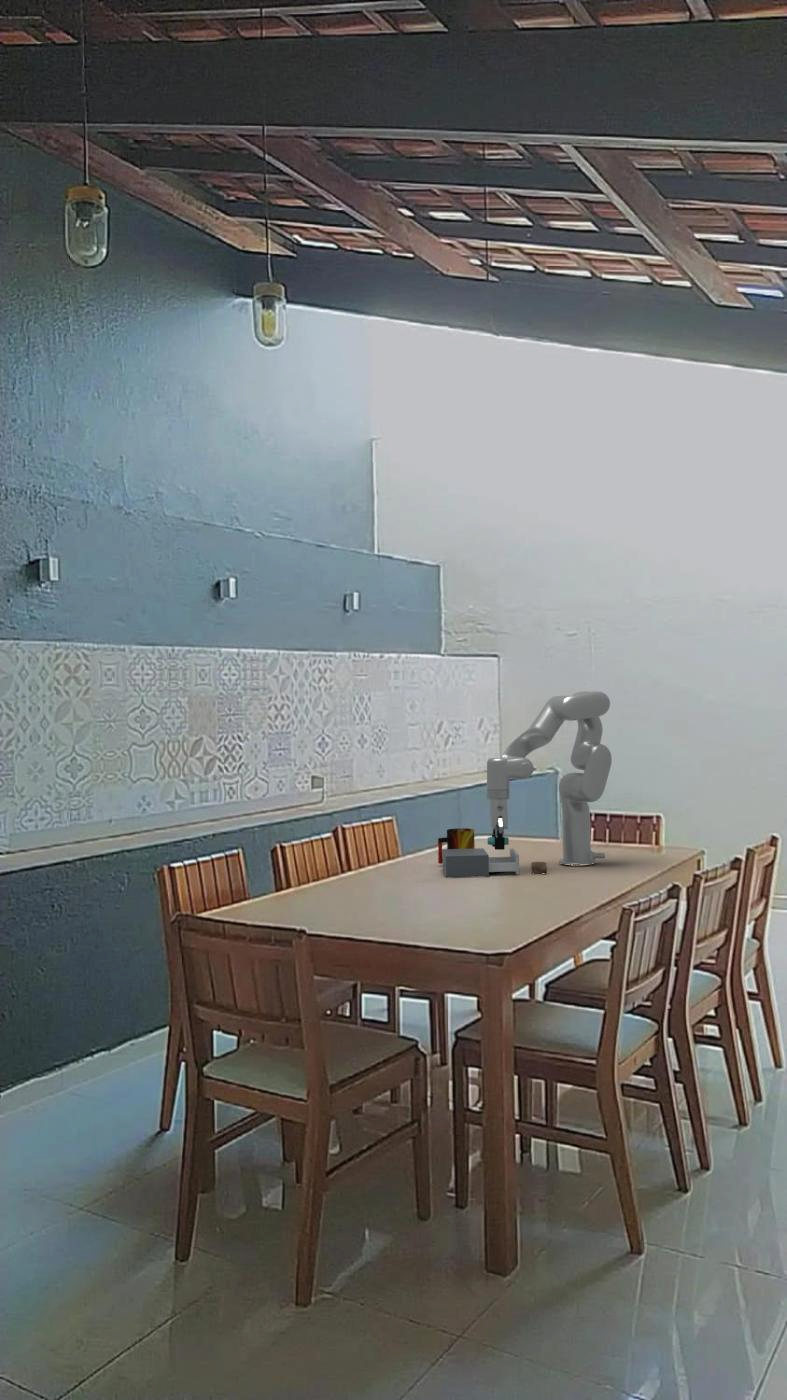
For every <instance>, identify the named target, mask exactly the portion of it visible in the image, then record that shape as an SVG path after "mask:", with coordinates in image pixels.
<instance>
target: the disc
mask: <svg viewBox="0 0 787 1400" xmlns="http://www.w3.org/2000/svg"><path fill="white" fill-rule="evenodd" d="M504 838H505V846H508V845H509V844H510V843H509V842H510V841H509V839H510V838H509V837H507V836H506V837H505V836H504ZM487 845H491V846H492V845H495V837H492V836H489V837H487Z"/></svg>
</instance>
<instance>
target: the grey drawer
mask: <svg viewBox="0 0 787 1400" xmlns="http://www.w3.org/2000/svg"><path fill="white" fill-rule="evenodd" d="M495 872H496V873H497V872H500V873H501V872H514V874H515V875H520V854H519V853H518V852H517V851H516V850H515V849H514V848H510V849H509V856H489V873H495Z"/></svg>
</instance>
